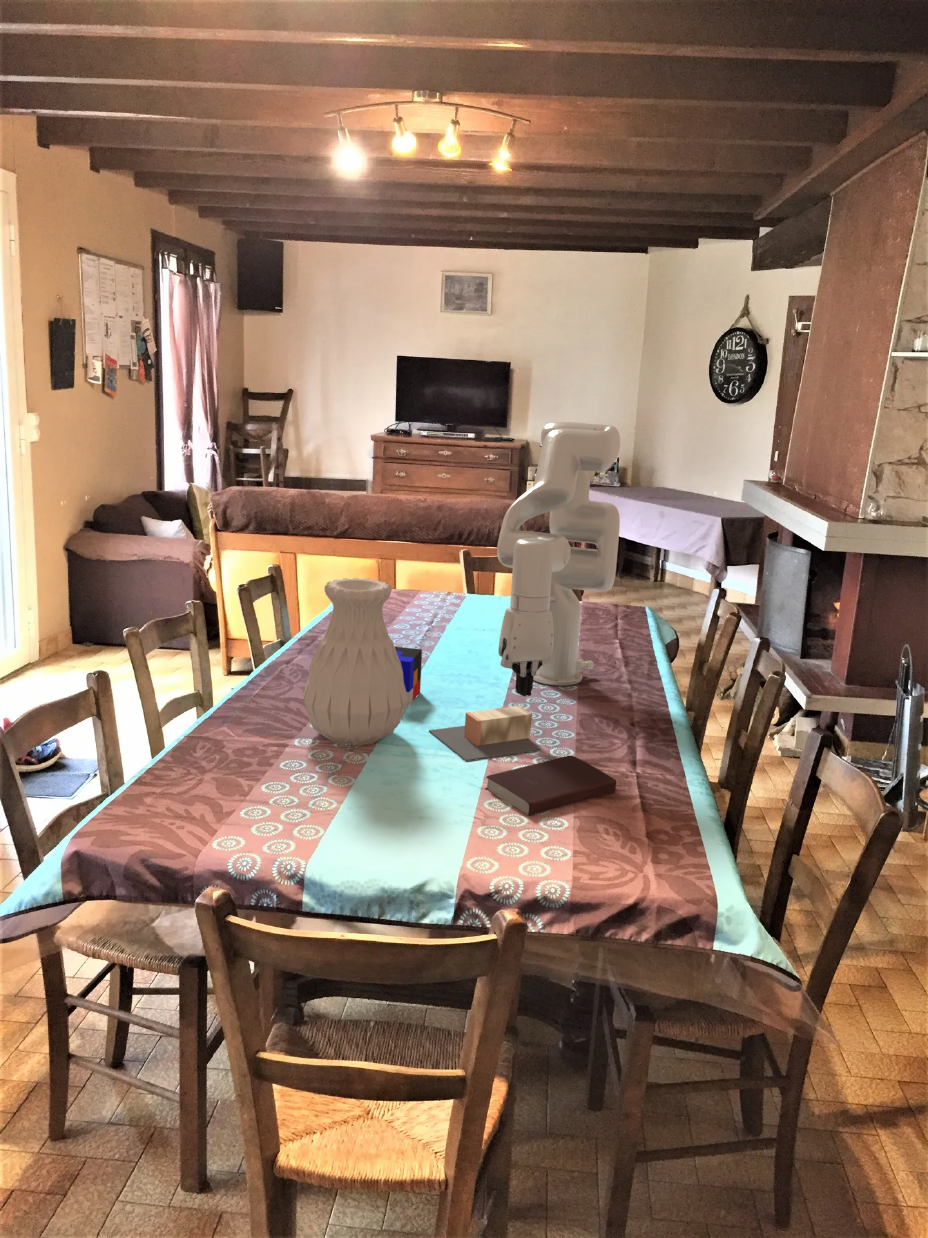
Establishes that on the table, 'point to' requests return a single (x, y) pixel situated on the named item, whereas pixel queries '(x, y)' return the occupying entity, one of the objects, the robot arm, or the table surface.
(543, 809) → the book
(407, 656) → the puzzle toy
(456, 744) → the mat
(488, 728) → the tall block
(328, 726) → the vase
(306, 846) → the table surface
